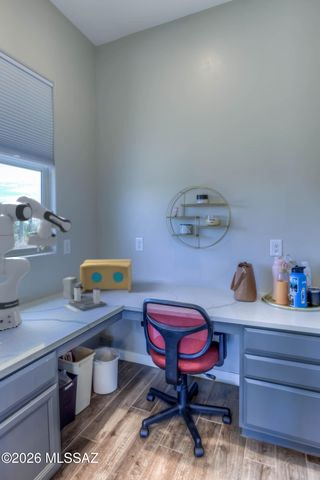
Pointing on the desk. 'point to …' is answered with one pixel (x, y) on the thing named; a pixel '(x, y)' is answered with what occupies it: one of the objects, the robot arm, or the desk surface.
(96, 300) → the toggle front
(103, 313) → the desk surface
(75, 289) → the toggle rear
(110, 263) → the cardboard box
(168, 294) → the desk surface
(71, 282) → the circuit breaker
